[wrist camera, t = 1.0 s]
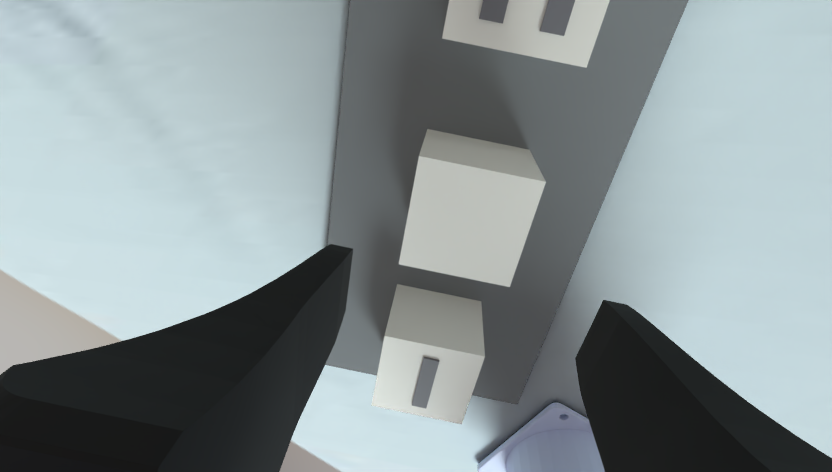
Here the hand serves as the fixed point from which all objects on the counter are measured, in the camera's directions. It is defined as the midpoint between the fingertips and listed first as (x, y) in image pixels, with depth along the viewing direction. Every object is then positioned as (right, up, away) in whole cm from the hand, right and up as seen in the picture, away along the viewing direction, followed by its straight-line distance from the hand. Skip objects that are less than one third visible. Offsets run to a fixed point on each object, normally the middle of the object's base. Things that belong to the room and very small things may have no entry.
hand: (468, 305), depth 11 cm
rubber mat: (+1, +4, +8) cm, 9 cm away
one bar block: (-1, -3, +12) cm, 12 cm away
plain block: (+1, +4, +8) cm, 9 cm away
